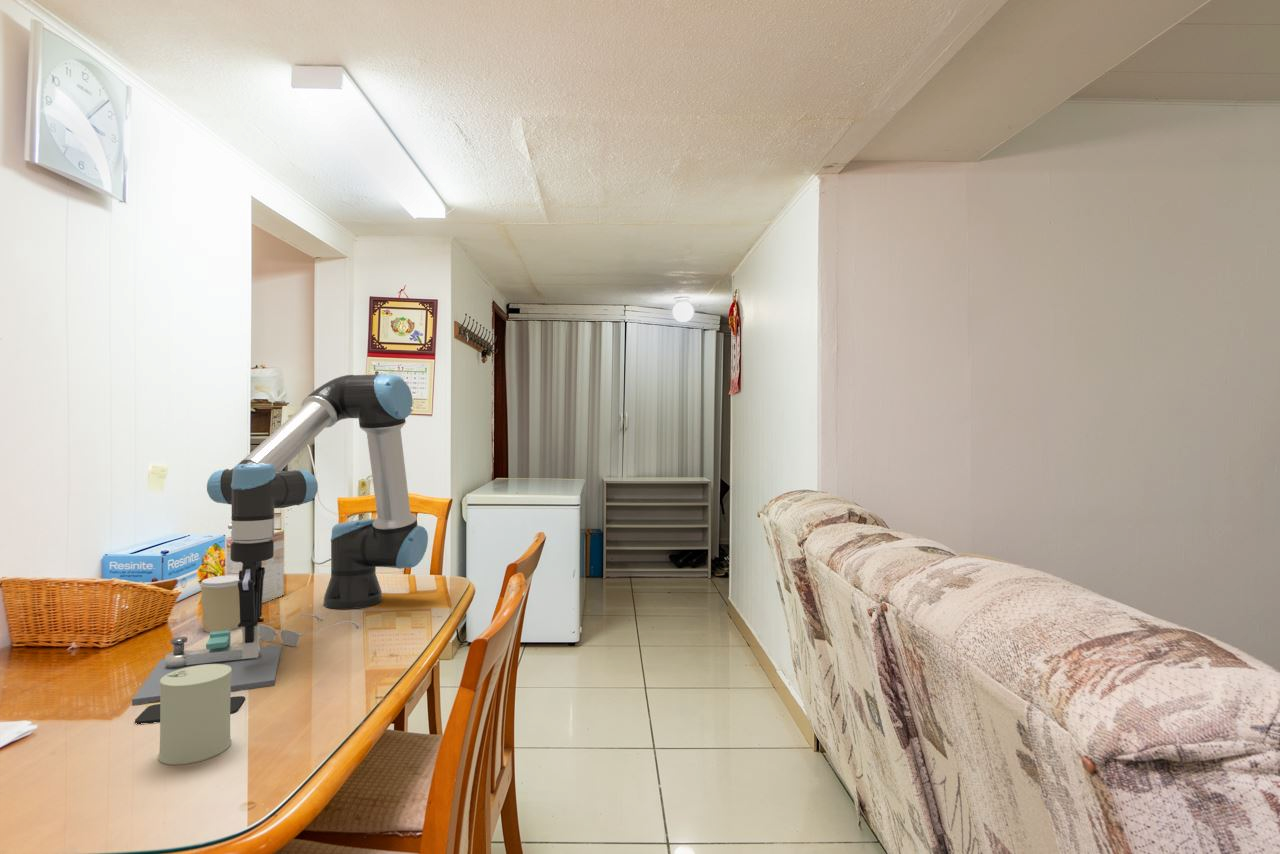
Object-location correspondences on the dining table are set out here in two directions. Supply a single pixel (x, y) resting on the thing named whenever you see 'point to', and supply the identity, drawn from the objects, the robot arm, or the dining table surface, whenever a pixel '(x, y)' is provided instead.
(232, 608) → the coffee cup
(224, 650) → the link
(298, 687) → the dining table surface
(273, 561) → the coffeecake box
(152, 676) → the board
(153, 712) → the phone
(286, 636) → the eyeglasses
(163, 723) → the can
